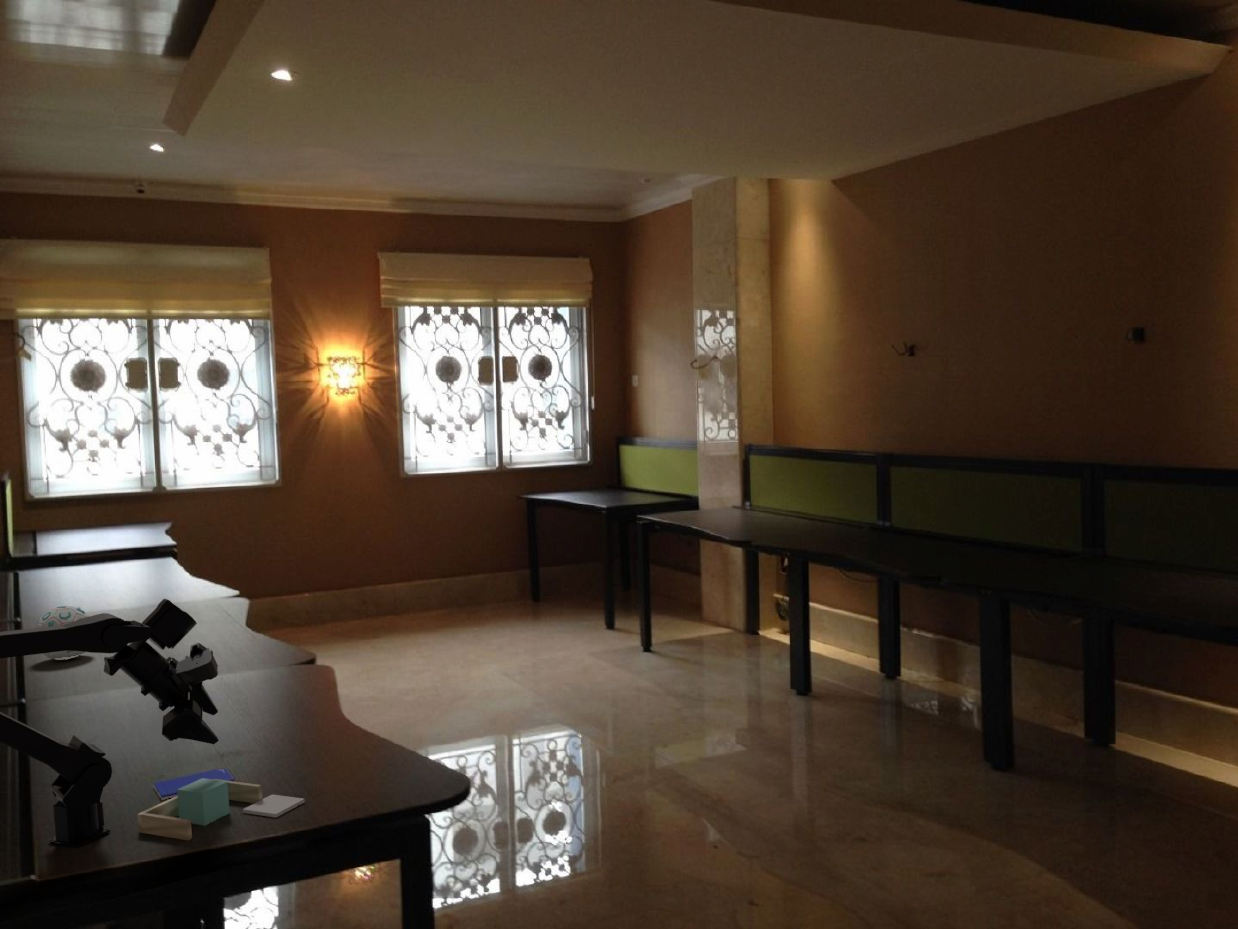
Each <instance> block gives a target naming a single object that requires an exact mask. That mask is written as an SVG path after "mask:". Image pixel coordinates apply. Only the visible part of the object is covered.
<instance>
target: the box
mask: <svg viewBox="0 0 1238 929" xmlns="http://www.w3.org/2000/svg"><path fill="white" fill-rule="evenodd" d="M213 780H219V779H213ZM220 781H227V780H220ZM227 783H228V797H229V801H237V802H243V803H249V804H254V803H256V802H258V801H260V800H262V799H263V789H262V784H257V783H256V784H255V783H250V782H249V783H248V782H241V781H240V782H239V781H235V782H234V781H227ZM136 815H137V826H138V833H141V834H148V835H155V836H159V837H165V838H170V839H171V838H172V839H177V840H184V841H190V840H192V839H193V834H192V832H193V830H192V824H191V820H188V819H182V818H179V807H178V796H176V797H173V798H171V799H167V800H164V801H162V802H161V803H158V804H157V805H154V806H152V807H150V808H147V809H145V810H143V811H141V812H139V813H137V814H136ZM175 816H176V817H175Z"/></svg>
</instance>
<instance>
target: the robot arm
mask: <svg viewBox="0 0 1238 929" xmlns="http://www.w3.org/2000/svg"><path fill="white" fill-rule="evenodd" d="M196 625H197V621H196V620H195V619H194V618H193V617H192V616H191V615H190V614H189V613H188V612H186V611H184V610H183V609H181V608H180V607H179V606H177V605H176V604H174V603H173V602H172V600H170V599H168V598H163V599H161V601H160V602H159V603H158V605H157V606H156V608H155V609H154V610H152V612H151V613H150V614H149V615H147V617H146V618H145V619H144V620H143V621H142V622H140V621H137V620H134V619H133V620H125V619H122V618H121V617H118V616H116V615H114V614H110V613H106V612H105V613H103V612H102V613H97V614H93V615H89V617H86V618H82V619H79V620H77V621H74V622H71V623H69V624H65V625H61V626H51V627H42V628H36V627H32V628H26V629H13V630H5V631H0V659H7V658H8V659H9V658H15V657H23V656H32V655H40V654H42V653H51V652H59V651H81V652H85V653H93V654H95V653H96V654H113V655H111V656H104V658H103V661H104V664H103V666H104V667H103V672H104V673H105V674H107V675H109V676H115V674H116V673H117V672H118V671H119V670H121V671H122V672H123V673H125V674H126V676H128V677H129V678H130V679H131V680H132V681H134V682H135V683H136V684H137V685H138V686H140V687H141V688H140V694H142V695H143V696H144V697H146V696H147V695H150V696H151V697H153V698H154V699H155V700H156V701H157V702H158V709H159V710H160V711H162V712H164V711H166V710H167V709H168V708H172V709H171V710H170V711H168V712H167V713H166V714H165V715H163V716H162V725H161V726H162V727H161V735H162V736H163V737H165V739H166V740H168V741H169V742H172V741H174V740H175V741H176V740H178V739H182V740H191V741H196V742H200V743H207V744H212V745H215V744H216V743H218V742H219V738H218V736H217V735H216V734H215V732H214V731H213V730H212V729H211V728H210V726H209V725H208V724H207V723H206V722H205V721H204V719H203V715H204V714H203V712H204V713H206V714H208V715H211V716H215V715H217V713H219V710H218V708H217V706H216V705H215V703H214V701H213V700H212V699H211V697H210V695H209V694H208V691H207V689H205V686H204V685H203V682H205V681H211V680H213V679H216V678H217V677H218V675H219V671H218V668H219V667H218V666H219V665H218V663H217V661H216V659H215V656H214V652H213V650H212V649H210V647H206V646H204V645H203V644H202V643H200V642H196V643H194V644H192V645H191V646H190V648H189V649H190V651H189V656H188V655H185V657H184V658H183V659H182V660H179V661H178V660H177V659H176V658H174V657H171V656H168V657H167V658H165V657H164V656H163V655H162V654H161V653H160V652H158V651H157V649H155V648H154V647H153V646H152V645H151V644H149V643H148V642H147V641H148V640H149V641H150V642H151V643H152V644H153V645H155V646H156V647H157V648H158V649H160V650H161V651H164V650H165V649H166V648H167V649H168V650H170V649H171V650H173V649H174V648H175V647H177V645H178V644H179V643H180V642H181V641H182V640H183V639H184V638H185V637H186V635H188V634H189V633H190V631H192V629H193V628H194V627H196ZM0 743H2V744H3V745H6V746H8V747H9V748H12V749H14V750H15V751H17V752H20V753H22V754H24V755H26V756H28V757H30V758H32V759H34V760H37V761H39V762H40V763H43V764H45V765H47V766H49V768H51V769H52V770H53V771H55V772H56V773H57V774H58V775H57V776H56V778H55V779H54V780H53V781H52V782H51V784H50V785H49V789H50V791H51V793H52V795H53V796H54V797H55V798H56V799H57V800H58V801H57V802H56V803H55V804H53V805H52V808H53V809H52V810H53V820H54V832H55V834H54V836H52V837H50V838H48V841H49V840H50V841H54V842H59V843H61V844H60V845H62V844H65V845H64V846H67V845H70V846H69V847H73V846H78V847H80V846H83V845H85V844H87V843H89V842H91V841H93V840H95V839H97V838H100V837H102V836H104V835H107V834H108V833H110V832H111V828H109V827H104V826H105V817H104V804H103V801H102V800H101V797H102V794H103V791H104V788H105V787H106V785H108V784H109V782H110V781H111V778H112V775H113V774H112V773H113V768H112V764H111V762H110V761H109V760H108V759H107V758H105V757H104V756H106V753H105V752H104V751H103V750H102V749H101V748H99V747H98V746H97V745H96V744H93V743H86V742H85V741H83V740H81V739H80V738H79V737H78V736H77V735H72V737H71V739H70V741H69V742H68V741H63V740H58V739H55V738H54V737H51V736H49V735H48V734H45V733H44V732H41V731H40V730H38V729H35V728H33V727H32V726H29V725H27V724H25V723H24V722H22V721H19V720H17V719H15V718H13V717H11V716H10V715H7V714H6V713H4V712H1V711H0ZM86 842H87V843H86Z"/></svg>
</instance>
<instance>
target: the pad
mask: <svg viewBox="0 0 1238 929" xmlns="http://www.w3.org/2000/svg"><path fill="white" fill-rule="evenodd" d="M305 802H306V801H305V798H301V797H294V796H293V797H292V796H288V795H287V796H286V795H278V794H270V795H269V796H267V797H264V798H262V800H260V801H258V802H256V803H251V805H249V806H246V807H244V808H243V809H242V812H243V813H244V814H248V815H249V814H250V815H257V816H264V817H269V818H275V819H276V818H278V817H281V816H282V815H283V814H286V813H287V812H290V811H291V810H292V809H294V808H297V807H298V805H299V806H300V805H302V804H304V803H305Z"/></svg>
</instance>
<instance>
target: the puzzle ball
mask: <svg viewBox="0 0 1238 929" xmlns="http://www.w3.org/2000/svg"><path fill="white" fill-rule="evenodd" d="M86 617H90V615H89V614H88V613H87V612H85V610H83V609H80V608H78V607H77V606H71V605H68V606H67V605H64V606H57V607H53V608H51V609H50V610H48V611H46V612H45V613H44V614H42V616H41V617H40V618H39V619H38V620H37V622H36V626H35V628H42V627H51V626H61V625H65V624H69V623H71V622H74V621H77V620H79V619H82V618H86ZM82 653H83V654H85V653H86V652H81V651H59V652H51V653H42V654H43V655H44V656H45V657H47V659H50V658H62V657H71V656H76V655H79V654H82ZM83 654H82V655H83Z"/></svg>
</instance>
